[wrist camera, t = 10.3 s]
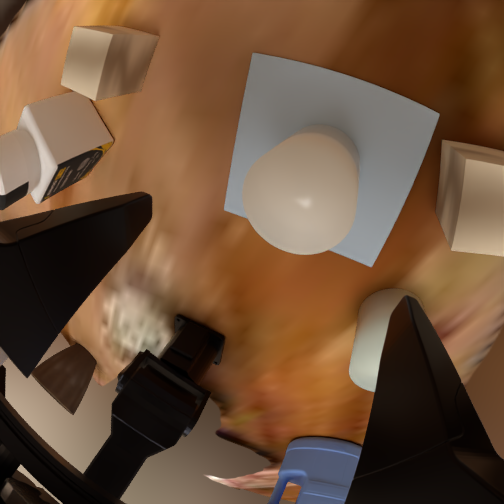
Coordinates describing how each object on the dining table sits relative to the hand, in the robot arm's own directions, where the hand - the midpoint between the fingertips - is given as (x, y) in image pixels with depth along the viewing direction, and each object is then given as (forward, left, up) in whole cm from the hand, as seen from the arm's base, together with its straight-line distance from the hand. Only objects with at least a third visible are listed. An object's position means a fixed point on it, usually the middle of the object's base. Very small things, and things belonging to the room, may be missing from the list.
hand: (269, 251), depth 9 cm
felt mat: (0, 0, -11) cm, 11 cm away
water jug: (-46, -20, -12) cm, 52 cm away
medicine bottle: (-3, +23, -12) cm, 26 cm away
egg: (0, 0, -11) cm, 11 cm away
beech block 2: (+3, -10, -11) cm, 15 cm away
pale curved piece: (-10, -10, -11) cm, 18 cm away
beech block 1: (+5, +17, -11) cm, 21 cm away
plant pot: (-61, +40, -12) cm, 74 cm away
